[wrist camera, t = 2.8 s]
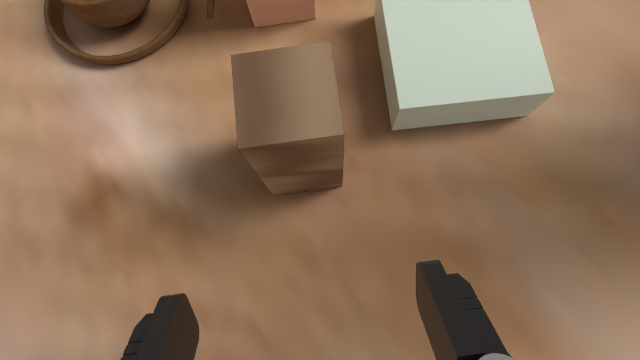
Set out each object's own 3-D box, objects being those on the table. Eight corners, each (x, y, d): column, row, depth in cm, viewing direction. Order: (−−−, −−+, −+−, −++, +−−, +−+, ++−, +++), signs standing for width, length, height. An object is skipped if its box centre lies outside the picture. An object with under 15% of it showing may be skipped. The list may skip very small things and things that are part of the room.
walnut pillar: (332, 122, 29) (330, 41, 19) (342, 186, 27) (344, 134, 18) (267, 131, 29) (230, 55, 19) (273, 195, 27) (237, 148, 18)
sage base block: (496, 4, 31) (518, -35, 27) (525, 117, 28) (554, 92, 24) (373, 18, 31) (378, -19, 27) (391, 132, 29) (399, 108, 25)
